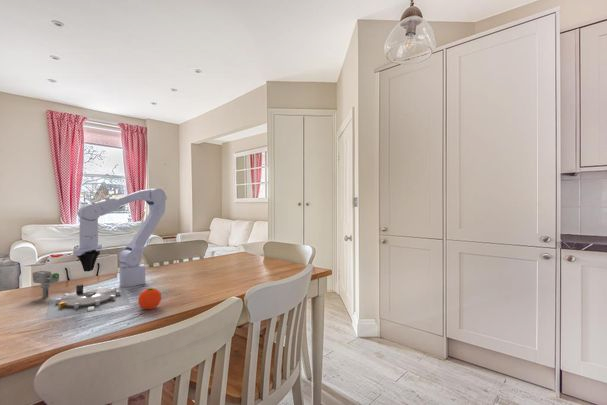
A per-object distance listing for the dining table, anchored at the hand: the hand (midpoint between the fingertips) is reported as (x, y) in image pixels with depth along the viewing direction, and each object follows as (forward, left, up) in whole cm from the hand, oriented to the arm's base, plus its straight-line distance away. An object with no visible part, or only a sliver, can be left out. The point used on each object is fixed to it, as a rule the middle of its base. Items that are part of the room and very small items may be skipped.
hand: (88, 270), depth 108 cm
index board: (0, +11, -9) cm, 15 cm away
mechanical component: (+12, -3, -10) cm, 16 cm away
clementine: (-16, +29, -10) cm, 34 cm away
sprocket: (0, +10, -8) cm, 13 cm away
